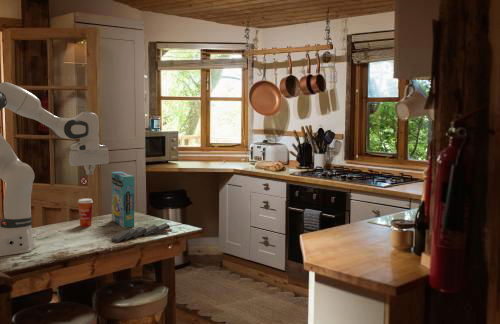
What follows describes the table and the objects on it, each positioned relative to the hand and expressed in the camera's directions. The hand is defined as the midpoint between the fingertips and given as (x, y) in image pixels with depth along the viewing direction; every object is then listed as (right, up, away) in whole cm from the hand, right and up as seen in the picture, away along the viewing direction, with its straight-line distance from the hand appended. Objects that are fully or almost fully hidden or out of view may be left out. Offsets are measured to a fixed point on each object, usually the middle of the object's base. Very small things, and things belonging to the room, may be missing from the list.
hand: (89, 174), depth 265 cm
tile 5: (+29, -29, +12) cm, 42 cm away
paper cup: (-10, -28, +27) cm, 40 cm away
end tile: (+30, -30, +14) cm, 44 cm away
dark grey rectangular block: (+13, -31, -5) cm, 34 cm away
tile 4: (+24, -30, +8) cm, 39 cm away
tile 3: (+19, -30, +3) cm, 36 cm away
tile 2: (+16, -30, -1) cm, 34 cm away
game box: (+8, -28, +34) cm, 44 cm away
